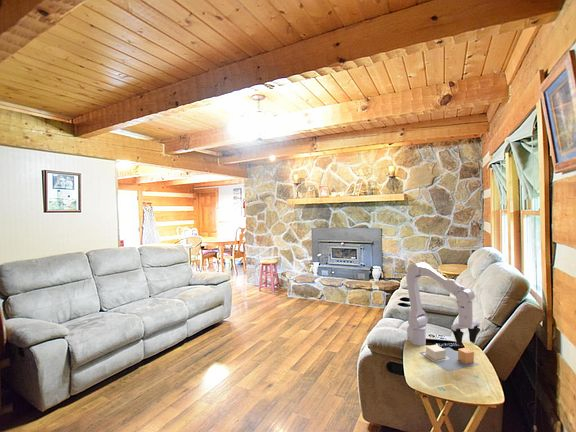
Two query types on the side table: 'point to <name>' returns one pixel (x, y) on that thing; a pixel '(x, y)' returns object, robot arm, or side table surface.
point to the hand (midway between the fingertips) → (465, 343)
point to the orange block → (465, 355)
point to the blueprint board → (449, 360)
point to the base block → (435, 352)
